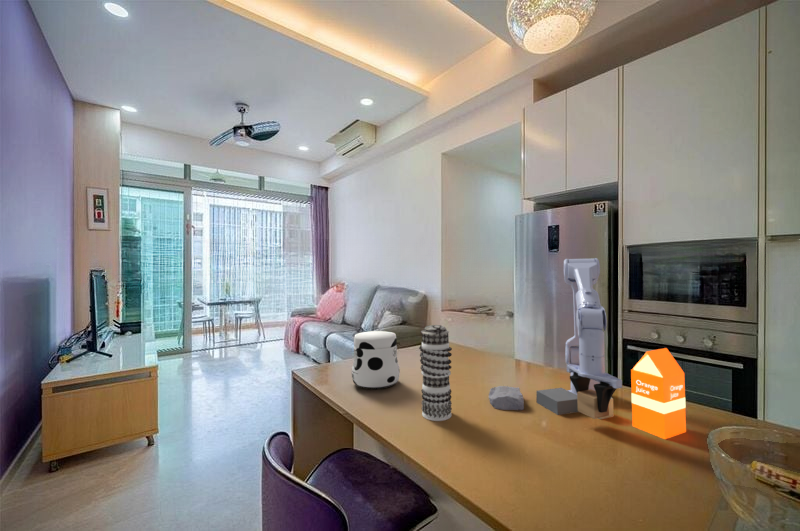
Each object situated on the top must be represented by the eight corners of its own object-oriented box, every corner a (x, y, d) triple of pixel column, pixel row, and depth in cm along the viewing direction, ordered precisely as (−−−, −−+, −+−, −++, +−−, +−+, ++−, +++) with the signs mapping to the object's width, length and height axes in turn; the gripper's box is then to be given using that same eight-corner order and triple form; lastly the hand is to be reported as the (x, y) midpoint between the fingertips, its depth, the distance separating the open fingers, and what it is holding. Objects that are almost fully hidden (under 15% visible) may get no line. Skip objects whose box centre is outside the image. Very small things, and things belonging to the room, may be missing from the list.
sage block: (597, 409, 97) (596, 392, 97) (613, 416, 93) (613, 398, 93) (584, 412, 96) (584, 394, 96) (600, 419, 91) (599, 401, 91)
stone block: (492, 415, 99) (527, 411, 97) (488, 399, 99) (523, 394, 97) (489, 401, 110) (520, 397, 108) (486, 387, 111) (517, 382, 109)
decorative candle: (440, 425, 89) (438, 330, 89) (413, 415, 95) (412, 326, 96) (459, 413, 96) (457, 325, 96) (433, 405, 102) (431, 322, 102)
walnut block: (591, 407, 90) (591, 389, 90) (609, 415, 85) (608, 395, 85) (577, 411, 88) (577, 391, 88) (594, 418, 84) (594, 398, 84)
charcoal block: (561, 400, 105) (561, 387, 105) (584, 412, 96) (583, 398, 96) (536, 403, 103) (536, 390, 103) (557, 416, 94) (557, 401, 94)
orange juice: (631, 426, 87) (629, 348, 87) (652, 419, 90) (650, 344, 91) (665, 439, 80) (663, 355, 80) (687, 432, 83) (684, 351, 83)
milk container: (408, 381, 124) (407, 332, 124) (381, 396, 110) (380, 341, 110) (371, 374, 133) (370, 329, 134) (341, 387, 119) (340, 336, 119)
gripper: (557, 350, 92) (558, 399, 92) (606, 363, 79) (607, 421, 79) (577, 347, 95) (578, 395, 95) (627, 360, 81) (628, 416, 81)
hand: (593, 407), depth 87 cm, fingers closed on walnut block, 5 cm apart
